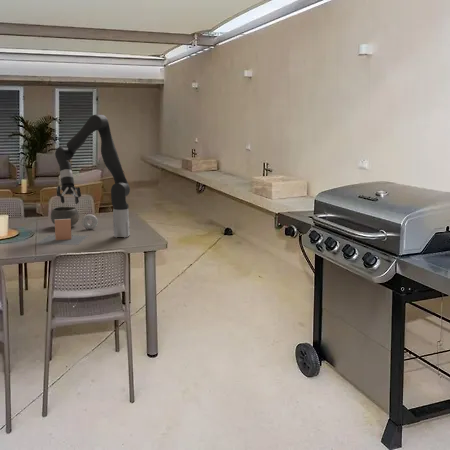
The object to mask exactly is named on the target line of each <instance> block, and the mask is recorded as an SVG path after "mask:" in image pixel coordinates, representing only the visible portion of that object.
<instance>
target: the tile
mask: <svg viewBox="0 0 450 450" xmlns="http://www.w3.org/2000/svg"><path fill="white" fill-rule="evenodd" d="M54 233H55V234H54V235H55V239H56V240H65V239H72V238H71V235H72V226H71V219H55V224H54Z"/></svg>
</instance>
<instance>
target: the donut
mask: <svg viewBox="0 0 450 450" xmlns="http://www.w3.org/2000/svg"><path fill="white" fill-rule="evenodd" d="M89 220H91V221H92V223H91V224H90V223H88V221H89ZM98 223H99V221H98V218H97V216H95V215H94V214H89V213H88V214H86V215H84V216H83V218H82V220H81V224H82V226H83V227H84V228H85V229H86V230H93V229H95V228H96V227H97V226H98Z"/></svg>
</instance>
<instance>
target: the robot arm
mask: <svg viewBox="0 0 450 450" xmlns="http://www.w3.org/2000/svg"><path fill="white" fill-rule="evenodd" d="M109 122H110V121H109V119H108V117H107V116H106V115H104V114H101V113H100V114H93V115H91V116H89V118H88V119H87V121H86V122H85V123H84V125H83V126H82V127H81V129H79V130H78V132H77V133H75V134H74V136H72V137H71V138H70V139H69V141H67V143H66V148H65V147H61V146H59V147H57V148H56V149H55V153H54V155H55V159H56V161H57V164H58V166H59V177H60V185H57V187H56V196H57V197H58V198H60V203H62V204H64V203H65V195H72V196H73V197H74V204H75V205H78V204H79V203H80V202H79V199H80V198H81V197H82V192H81V189H80V187H79V186H78V187H75V180H74V179H75V178H74V173H73V169H72V163H71V162H70V160H72V159H73V157H74V156H75V154H76V152H77V151H78V150H79V149H80V148H81V147H82V146H83V145H84V144H85V142H87V141H86V140H87V139H88V137H89V136H90V135H91V134H93V133H94V132H96V131H98V134H99V137H100V154H101V157H102V161H103V163H104V165H105V167H106V168H107V169H108V171H109V173H110V174H111V176H112V179H113V180H114V184H112V186H111V188H110V196H111V197H110V198H111V205H112V213H113V215H112V216H113V221H112V223H113V224H112V225H113V237H114V238H117V237H124V238H129V237H130V236H131V232H130V231H131V230H130V223H131V222H130V218H129V216H130V215H129V213H130V212H129V203H127V199H126V197H127V196H128V195H129V194H130V192H131V188H130V185H129V182H128V180H127V178H126V176H125V172H124V170H123V167H122V164H121V161H120V158H119V154H118V151H117V149H116V145H115V143H114V138H113V136H112V133H111V128H110V123H109ZM61 191H62V192H61ZM129 235H130V236H129ZM128 236H129V237H128Z"/></svg>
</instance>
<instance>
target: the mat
mask: <svg viewBox="0 0 450 450" xmlns="http://www.w3.org/2000/svg"><path fill="white" fill-rule="evenodd" d="M88 236H89V235H79V234H78V235H74V234H73V235H72V234H71V238H72V239H65V240H56V239H55V234H51V235H47V236H46V237H44V238H42V239H41V240H40V241H38V242H37V243H36V245H67V246H68V245H69V246H72V245H74V246H76V245H79V244H81V243H82V242H83V241H84V240H86V238H88Z"/></svg>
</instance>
